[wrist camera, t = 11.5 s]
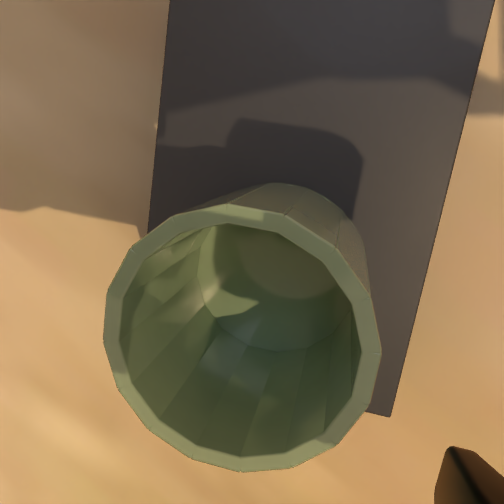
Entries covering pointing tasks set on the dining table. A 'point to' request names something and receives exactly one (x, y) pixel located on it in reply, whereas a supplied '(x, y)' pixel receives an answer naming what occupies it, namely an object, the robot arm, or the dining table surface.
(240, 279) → the cup
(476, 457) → the robot arm
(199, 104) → the box
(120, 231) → the dining table surface
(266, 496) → the dining table surface
